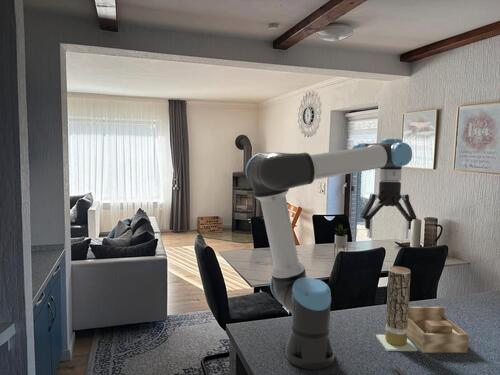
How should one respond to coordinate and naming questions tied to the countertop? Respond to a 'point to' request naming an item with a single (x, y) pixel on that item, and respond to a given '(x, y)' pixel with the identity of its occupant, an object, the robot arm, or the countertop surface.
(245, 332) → the countertop surface
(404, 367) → the countertop surface
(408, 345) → the felt mat
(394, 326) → the wooden log
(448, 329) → the offcut stack
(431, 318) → the wooden open box
